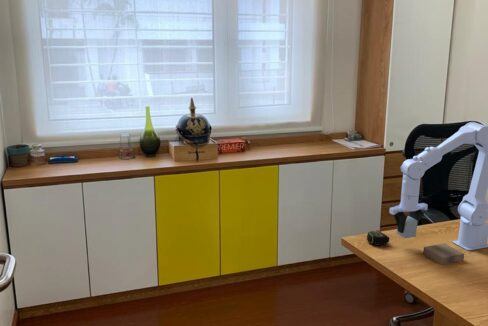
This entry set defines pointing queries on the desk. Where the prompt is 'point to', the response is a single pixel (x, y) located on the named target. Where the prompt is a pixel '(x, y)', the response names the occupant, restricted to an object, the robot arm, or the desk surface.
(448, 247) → the walnut base
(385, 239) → the tape measure
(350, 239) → the desk surface
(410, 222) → the grey block
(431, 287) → the desk surface
